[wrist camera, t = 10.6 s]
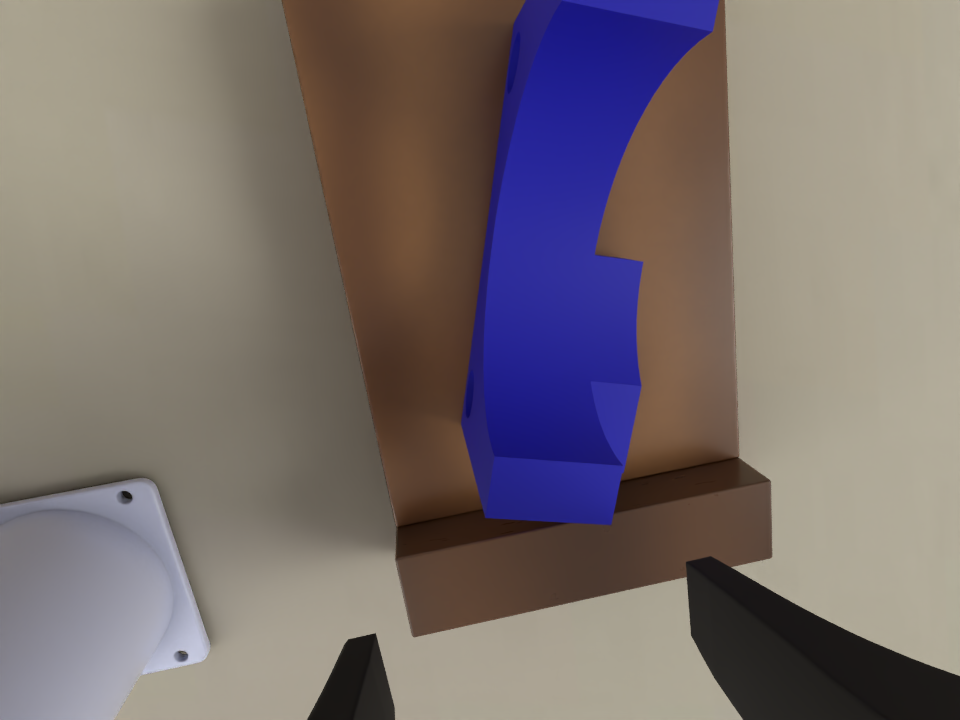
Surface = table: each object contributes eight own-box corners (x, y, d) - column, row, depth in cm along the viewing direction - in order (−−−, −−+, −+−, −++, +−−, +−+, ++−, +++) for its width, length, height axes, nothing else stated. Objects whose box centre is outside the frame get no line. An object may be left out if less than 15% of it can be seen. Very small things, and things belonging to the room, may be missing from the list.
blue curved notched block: (590, 434, 19) (670, 528, 13) (461, 424, 18) (484, 518, 12) (662, 52, 16) (803, -41, 10) (513, 23, 16) (575, -94, 10)
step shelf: (411, 553, 23) (412, 638, 18) (271, -109, 17) (218, -236, 12) (701, 492, 24) (773, 558, 19) (668, -151, 18) (759, -283, 13)
